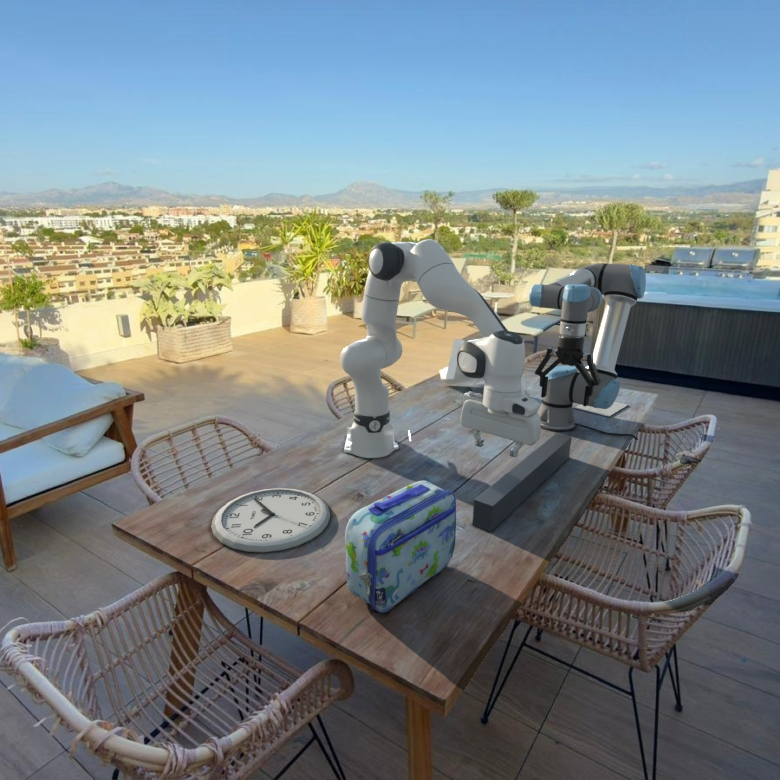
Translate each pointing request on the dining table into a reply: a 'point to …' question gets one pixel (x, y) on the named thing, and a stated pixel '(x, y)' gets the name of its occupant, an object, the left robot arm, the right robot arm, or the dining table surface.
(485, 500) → the post
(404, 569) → the lunch box
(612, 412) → the invitation card
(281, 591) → the dining table surface
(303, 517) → the wall clock
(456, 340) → the white plastic object
